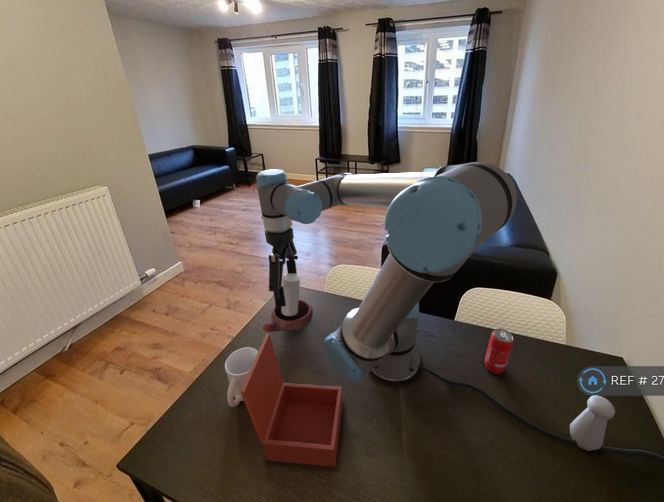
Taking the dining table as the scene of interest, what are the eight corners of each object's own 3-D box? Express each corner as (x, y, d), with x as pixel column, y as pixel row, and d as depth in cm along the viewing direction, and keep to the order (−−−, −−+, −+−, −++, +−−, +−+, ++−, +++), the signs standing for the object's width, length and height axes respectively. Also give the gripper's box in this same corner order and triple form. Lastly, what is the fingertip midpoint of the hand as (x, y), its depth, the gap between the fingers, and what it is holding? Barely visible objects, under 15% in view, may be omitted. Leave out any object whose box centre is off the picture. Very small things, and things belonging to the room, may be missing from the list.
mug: (248, 421, 72) (241, 392, 67) (217, 414, 73) (208, 386, 69) (270, 376, 82) (265, 349, 78) (243, 371, 84) (236, 345, 79)
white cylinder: (299, 307, 97) (302, 274, 94) (295, 317, 92) (297, 282, 89) (283, 305, 98) (285, 272, 94) (278, 314, 93) (280, 280, 89)
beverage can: (483, 371, 83) (492, 339, 77) (484, 356, 87) (492, 325, 82) (504, 377, 81) (514, 345, 76) (503, 362, 85) (513, 330, 80)
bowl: (281, 309, 106) (279, 291, 103) (317, 313, 104) (315, 294, 101) (263, 346, 92) (259, 326, 88) (304, 350, 90) (302, 330, 87)
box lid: (269, 334, 66) (266, 334, 66) (244, 391, 54) (240, 391, 54) (283, 381, 73) (280, 381, 73) (263, 442, 61) (260, 442, 61)
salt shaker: (599, 461, 63) (623, 423, 57) (567, 445, 66) (586, 408, 60) (597, 435, 68) (619, 398, 62) (566, 422, 70) (584, 385, 64)
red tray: (342, 405, 75) (341, 387, 72) (335, 468, 63) (334, 450, 60) (285, 400, 76) (282, 382, 73) (267, 462, 64) (262, 443, 61)
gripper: (278, 209, 93) (286, 267, 103) (247, 249, 71) (260, 319, 81) (302, 209, 92) (308, 268, 102) (278, 250, 71) (288, 320, 80)
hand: (287, 290), depth 91 cm, fingers open, 12 cm apart
